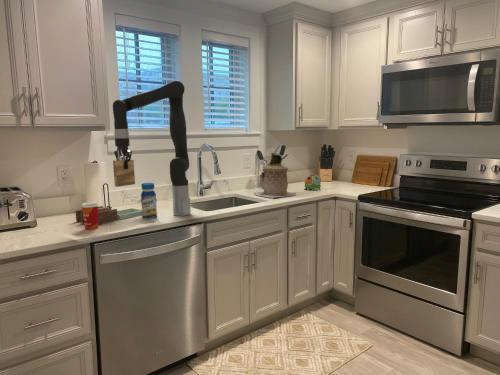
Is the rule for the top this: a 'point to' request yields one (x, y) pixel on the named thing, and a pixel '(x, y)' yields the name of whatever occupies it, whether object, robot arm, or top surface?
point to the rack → (99, 216)
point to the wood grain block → (123, 173)
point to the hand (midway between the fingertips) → (124, 168)
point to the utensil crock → (274, 179)
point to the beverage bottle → (148, 201)
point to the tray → (129, 213)
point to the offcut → (102, 209)
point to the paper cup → (90, 215)
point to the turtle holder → (312, 182)
